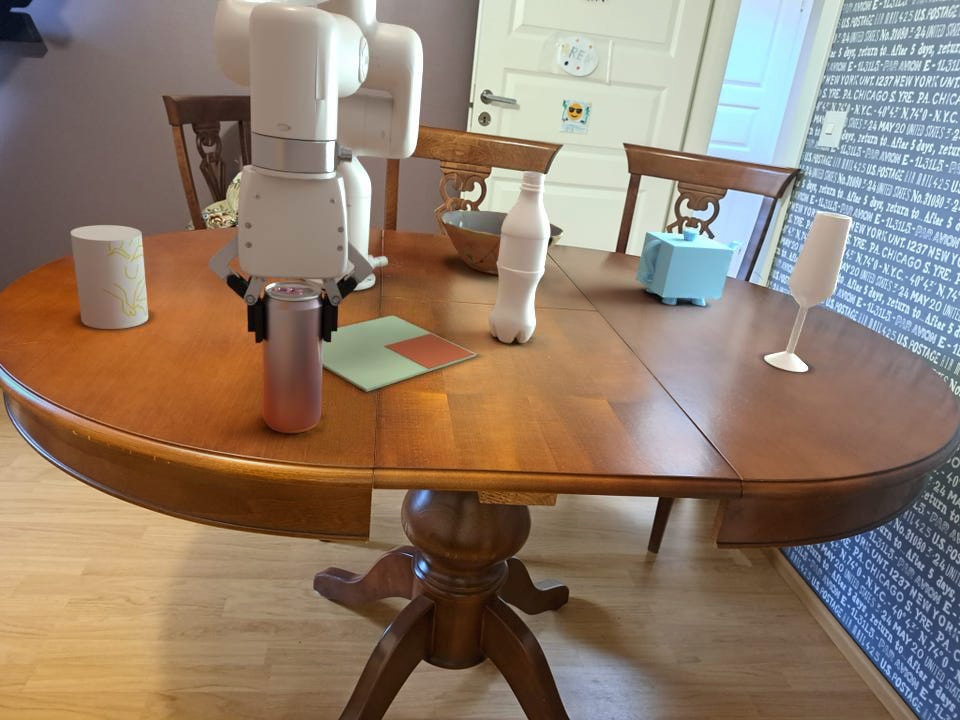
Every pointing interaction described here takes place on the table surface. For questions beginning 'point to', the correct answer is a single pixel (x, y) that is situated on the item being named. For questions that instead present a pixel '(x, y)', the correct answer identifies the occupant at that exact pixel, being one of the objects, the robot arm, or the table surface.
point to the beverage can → (292, 355)
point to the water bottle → (521, 262)
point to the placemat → (387, 352)
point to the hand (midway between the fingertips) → (292, 336)
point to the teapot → (684, 266)
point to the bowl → (482, 237)
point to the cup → (110, 276)
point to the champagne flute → (814, 277)
